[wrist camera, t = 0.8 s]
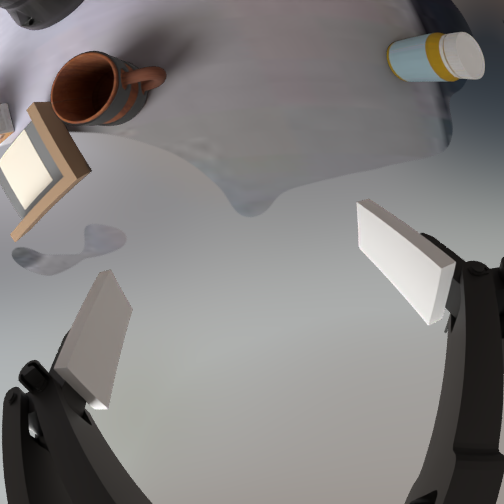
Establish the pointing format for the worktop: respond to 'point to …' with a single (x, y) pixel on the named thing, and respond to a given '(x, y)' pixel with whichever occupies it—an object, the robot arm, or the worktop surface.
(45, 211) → the brown piece
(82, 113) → the mug
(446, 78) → the bottle
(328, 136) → the worktop surface
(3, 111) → the small box
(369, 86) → the worktop surface
